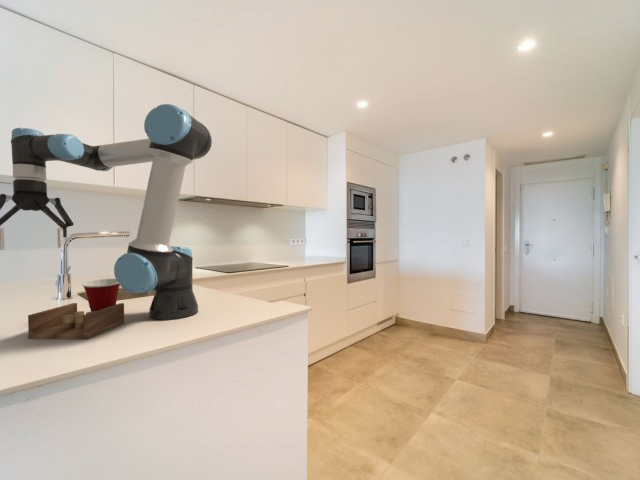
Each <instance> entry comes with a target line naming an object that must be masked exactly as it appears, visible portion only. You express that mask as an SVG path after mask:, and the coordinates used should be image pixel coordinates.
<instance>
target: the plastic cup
mask: <svg viewBox="0 0 640 480" xmlns="http://www.w3.org/2000/svg"><path fill="white" fill-rule="evenodd" d="M81 286H82V287H83V289H84V291H85V293H86V296H87V298H86V299H87V302H88V307H89V309H90V312H92V311H98V310H101V309H104V308H107V307H110V306H113V305H116V304H117V301H118V294H119V290H120V287H121V286H120V284H119V282H117V280H116V278H101V279H100V278H99V279H93V280H88V281H85V282H83V283H81Z"/></svg>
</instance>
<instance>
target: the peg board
mask: <svg viewBox="0 0 640 480" xmlns="http://www.w3.org/2000/svg"><path fill="white" fill-rule="evenodd" d="M27 323H28V324H27V327H28V330H27V331H28V339H31V340H32V339H35V340H40V339H41V340H43V339H44V340H89V339H91V338H93V337H94V338H95V337H97V336H98V335H101V334H103V333H105V332H107V331H110V330H112V329H115V328H116V327H119V326H122V325H124V324H125V303H124V302H120V303H116V305H113V306H110V307H107V308H104V309H101V310H98V311H92V312H91V311H87V312H85V310H84V311H83V310H81V311H78V303H77V302H72V303H68V304H65V305H62V306H61V305H60V306H56V307H54V308H50V309H47V310H41V311H40V312H39V311H38V312H36V313H31V314H28V315H27Z"/></svg>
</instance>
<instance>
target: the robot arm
mask: <svg viewBox="0 0 640 480" xmlns="http://www.w3.org/2000/svg"><path fill="white" fill-rule="evenodd" d="M143 123H144V124H143V128H144V133H145V134H146V136H147V137H148V138H142V139H136V140H129V141H122V142H114V143H107V144H102V145H101V144H100V145H94V146H93V145H89V144H87V143H84V142H82V140H80V139H79V138H78V137H77V136H75V135H73V134H69V133H66V134H65V133H55V134H46V135H45V134H44V133H43V132H42V131H40V130H36V129H33V128H27V127H26V128H25V127H24V128H23V127H15V128H13V129H12V130H11V137H10V139H11V140H10V144H11V161H12V178H13V179H14V180H12V186H13V187H12V188H13V189H12V190H13V194H12V195H10V194H9V195H7V194H5V193H0V211H1V210H2V208H3V207H4V205H5V203H8V202H9V201H10V200H11V201H12V202H13V203H14V204H15V205H14V206H13V207H11V209H9V210H8V211H7V212H5V214H3V215H2V216H0V251H5V248H6V245H5V228H4V227H2V225H3V224H4V223H6V222H7V221H8V220H9V219H10V218H11V217H13V216H14V215H15V214H17V213H18V212H19V211H20V210H22V211H33V212H39V211H41V212H42V213H44V214H45V215H46V216H47V217H48V218H49V219H50V220H52V221H53V222H54V223H55V224H56V225H57V226H59V227H58V228H56V229H57V230H56V232H57V233H56V234H57V248H58V249H59V248H61V249H64V246H65V245H64V238H67V237H68V234H67V233H68V231H67V228H69V227H72V226H74V225H75V224H74V222H73V221H72V219H71V217H70V216H69V214H68V213H67V211H66V209H65V208H64V207H63V205H62V202H61V198H60V197H54V198H53V197H52V198H51V197H49V196H48V188H47V187H48V184H47V183H46V181H47V165H46V163H47V162H52V161H57V162H59V161H60V162H64V163H67V164H71V165H76V166H80V167H83V168H86V169H90V170H95V171H101V172H108V171H110V170H111V169H112V168H113V167H115V168H116V167H120V166H121V167H122V166H129V165H137V164H144V163H151V166H150V167H151V168H150V171H149V177H148V183H147V187H146V191H145V195H144V200H143V207H142V210H141V215H140V220H139V225H138V229H137V234H136V237H135V239H133V240H131V241H130V242H128V246H127V251H126V253H123V254H122V255H121V256H120V257H118V258H117V259H116V261H115V264H114V266H113V275H114V279H116V280H117V282H119V284H120V287H121V288H122V289H124V290H125V291H127V292H129V293H132V294H141V293H149V292H152V291H154V295H153V298H152V300H151V304H150V307H149V309H148V313H149V314H148V316H149V318H150V319H153V320H164V321H165V320H166V321H167V320H176V319H183V318H189V317H191V316H194V315H196V314H198V313H199V304H198V300H197V298H196V295H195V294H194V290H193V259H194V257H193V251H192V250H191V248H189V247H186V246H176V245H175V246H173V245H172V246H171V244H170V241H171V236H172V231H173V226H174V222H175V218H176V217H175V216H176V214H177V213H176V212H177V208H178V203H179V198H180V193H181V189H182V184H183V180H184V175H185V172H186V171H185V170H186V167H187V166H188V165H189V164H192V163H193V160H194V161H195V160H198V159H201V158H204V157H205V156H207V154H208V153H209V152H210V151H211V148H212V144H213V141H212V140H213V139H212V136H211V132H210V130H209V129H208V128H207V127H206V126H205V125H204V124H203V123H202V122H201V121H198V120H197V119H195V118H194V116H192V115H191V114H189V113H188V112H187V111H186V110H185V109H182V108H180V107H178V106H177V105H174V104H170V103H163V104H159V105H157V106H156V107H153V108H152V109H151V110H150V111H149V112H148V113H147V115H146V117H145V119H144V122H143ZM48 203H51V206H52V205H54V208H55V210H56V211H57V212H58V214H59V216H60V217H61V218H60V217H59V216H58V215H56V213H54V212H53V211H52V210H51V209H50V207H48V206H47V205H48Z"/></svg>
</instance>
